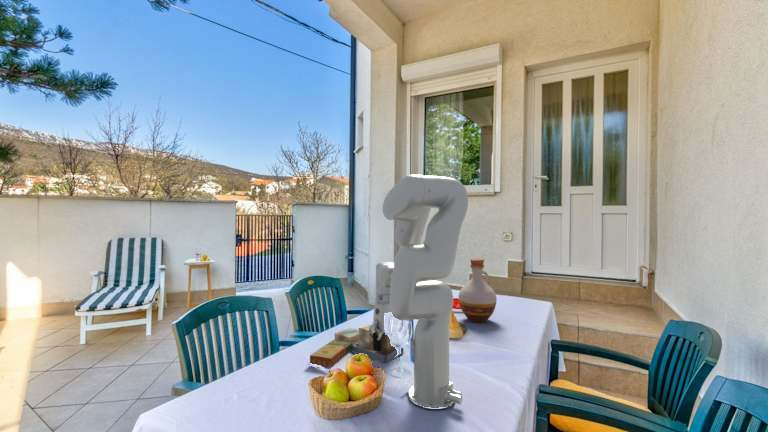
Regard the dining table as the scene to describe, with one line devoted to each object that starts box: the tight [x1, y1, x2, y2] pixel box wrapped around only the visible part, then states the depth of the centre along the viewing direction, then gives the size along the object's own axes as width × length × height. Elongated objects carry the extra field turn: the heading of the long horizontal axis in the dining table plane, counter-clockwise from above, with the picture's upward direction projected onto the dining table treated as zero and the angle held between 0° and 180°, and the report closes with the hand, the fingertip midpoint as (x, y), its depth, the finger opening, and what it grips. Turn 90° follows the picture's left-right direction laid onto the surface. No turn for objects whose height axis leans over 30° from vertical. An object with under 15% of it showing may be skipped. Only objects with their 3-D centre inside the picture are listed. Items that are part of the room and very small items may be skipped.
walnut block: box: [376, 332, 396, 355], centre depth 115 cm, size 5×5×8 cm
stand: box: [334, 327, 359, 345], centre depth 127 cm, size 8×8×5 cm
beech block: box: [358, 324, 374, 351], centre depth 121 cm, size 5×5×8 cm
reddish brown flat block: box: [309, 339, 352, 368], centre depth 114 cm, size 8×16×4 cm, turn 160°
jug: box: [458, 257, 497, 324], centre depth 161 cm, size 20×18×30 cm
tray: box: [350, 342, 404, 364], centre depth 118 cm, size 16×10×3 cm, turn 51°
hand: (386, 346), depth 115 cm, fingers open, 9 cm apart
